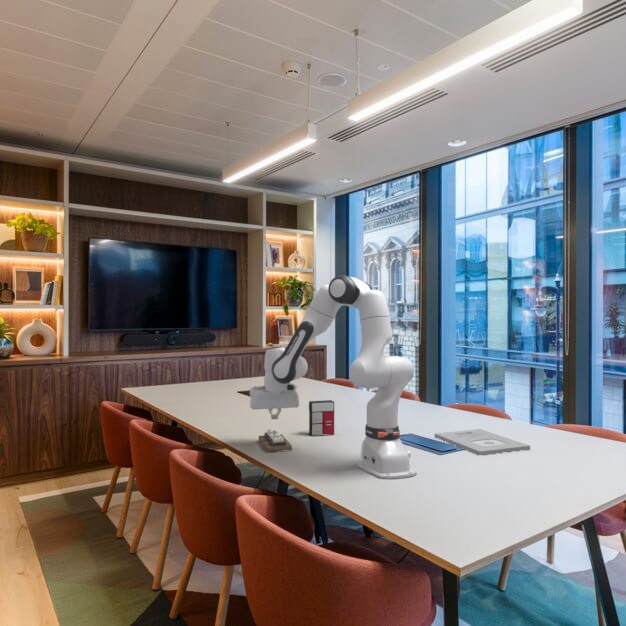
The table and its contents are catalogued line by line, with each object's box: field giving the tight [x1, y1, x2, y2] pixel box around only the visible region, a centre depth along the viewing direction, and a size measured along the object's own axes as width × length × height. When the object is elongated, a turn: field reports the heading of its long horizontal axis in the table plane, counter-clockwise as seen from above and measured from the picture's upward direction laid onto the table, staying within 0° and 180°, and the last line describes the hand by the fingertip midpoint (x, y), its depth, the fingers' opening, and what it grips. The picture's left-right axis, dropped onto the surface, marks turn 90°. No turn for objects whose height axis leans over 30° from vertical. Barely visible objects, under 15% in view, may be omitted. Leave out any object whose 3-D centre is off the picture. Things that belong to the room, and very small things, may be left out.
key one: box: [269, 432, 281, 439], centre depth 204 cm, size 4×4×2 cm
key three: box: [272, 436, 284, 443], centre depth 198 cm, size 4×4×2 cm
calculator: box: [308, 399, 335, 436], centre depth 222 cm, size 11×4×15 cm, turn 105°
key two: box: [265, 429, 279, 435], centre depth 210 cm, size 4×4×2 cm
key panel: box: [258, 432, 293, 453], centre depth 204 cm, size 19×10×3 cm, turn 16°
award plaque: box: [434, 428, 531, 456], centre depth 208 cm, size 25×30×2 cm
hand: (274, 419), depth 204 cm, fingers closed
